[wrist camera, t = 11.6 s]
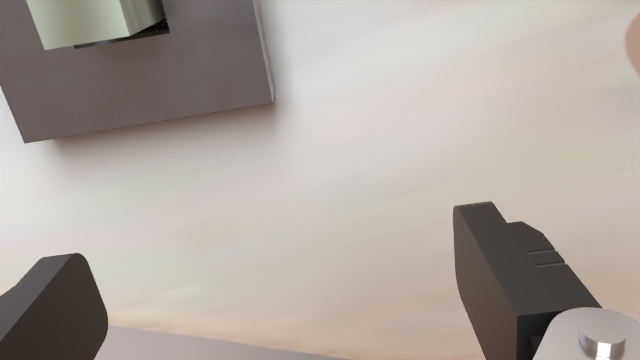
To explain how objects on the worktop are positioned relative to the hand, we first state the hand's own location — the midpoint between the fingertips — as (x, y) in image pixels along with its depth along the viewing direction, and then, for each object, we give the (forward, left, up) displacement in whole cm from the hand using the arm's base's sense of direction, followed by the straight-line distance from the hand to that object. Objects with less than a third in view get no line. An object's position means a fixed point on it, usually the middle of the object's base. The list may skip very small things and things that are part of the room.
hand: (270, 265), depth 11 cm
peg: (+9, -6, -23) cm, 25 cm away
